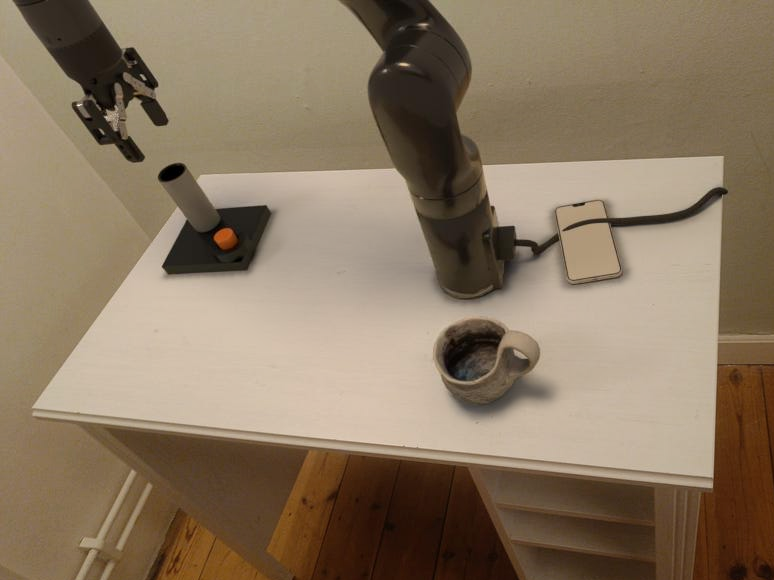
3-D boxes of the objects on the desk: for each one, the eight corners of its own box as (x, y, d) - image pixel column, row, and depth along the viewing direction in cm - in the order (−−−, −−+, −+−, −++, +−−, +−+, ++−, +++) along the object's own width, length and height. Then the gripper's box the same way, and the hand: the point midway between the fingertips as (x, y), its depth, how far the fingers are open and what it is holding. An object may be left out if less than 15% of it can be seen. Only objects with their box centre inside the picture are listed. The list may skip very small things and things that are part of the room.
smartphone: (567, 282, 81) (553, 207, 90) (567, 285, 82) (553, 210, 91) (623, 273, 80) (603, 198, 89) (623, 276, 81) (603, 201, 90)
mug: (452, 348, 79) (434, 297, 71) (549, 349, 76) (541, 296, 68) (439, 413, 74) (418, 366, 66) (543, 416, 71) (534, 368, 63)
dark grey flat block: (274, 213, 102) (264, 196, 100) (249, 270, 95) (238, 254, 92) (197, 218, 105) (186, 203, 102) (168, 274, 98) (155, 259, 95)
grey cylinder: (213, 233, 99) (177, 181, 91) (189, 232, 100) (151, 182, 92) (225, 213, 101) (191, 162, 93) (202, 213, 103) (166, 162, 94)
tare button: (240, 235, 95) (235, 227, 94) (234, 249, 94) (228, 241, 92) (223, 236, 96) (217, 228, 95) (217, 250, 94) (211, 242, 93)
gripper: (68, 56, 71) (154, 171, 84) (121, -3, 79) (192, 110, 92) (15, 64, 72) (107, 176, 85) (72, 5, 80) (148, 115, 93)
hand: (151, 142), depth 88 cm, fingers open, 8 cm apart
